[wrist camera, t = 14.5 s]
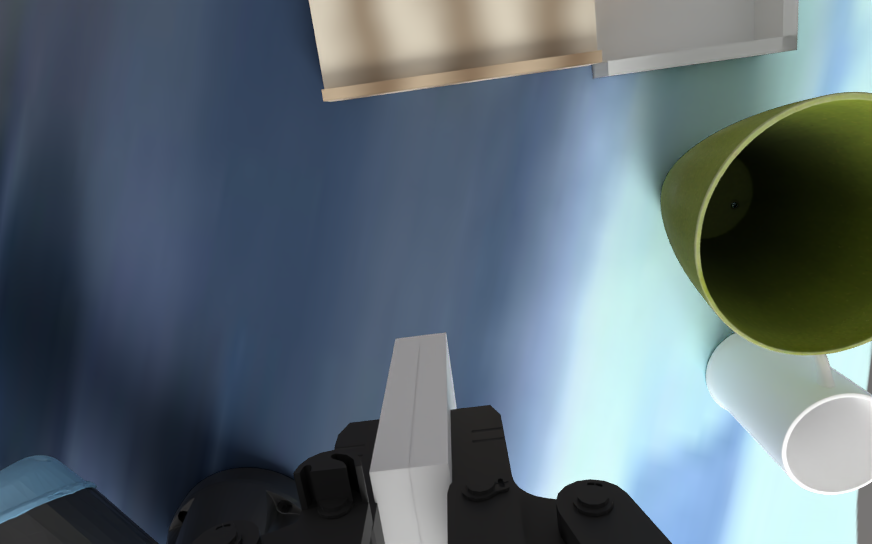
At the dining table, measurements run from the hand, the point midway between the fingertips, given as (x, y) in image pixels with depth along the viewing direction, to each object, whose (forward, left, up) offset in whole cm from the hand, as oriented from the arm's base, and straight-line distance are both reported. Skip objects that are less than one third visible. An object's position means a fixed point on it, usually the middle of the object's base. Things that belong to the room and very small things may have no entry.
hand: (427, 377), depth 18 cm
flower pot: (+22, -2, -33) cm, 39 cm away
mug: (+26, -17, -33) cm, 45 cm away
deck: (+3, +16, -32) cm, 36 cm away
